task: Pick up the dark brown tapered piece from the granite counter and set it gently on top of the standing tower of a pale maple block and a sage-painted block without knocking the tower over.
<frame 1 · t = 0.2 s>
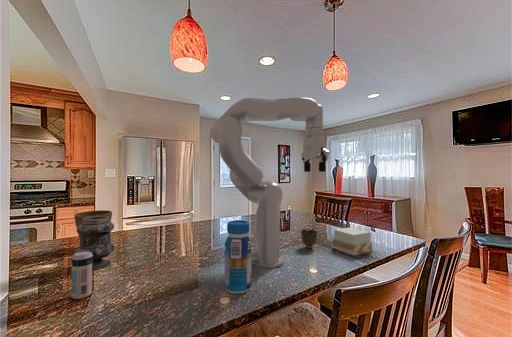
hand: (314, 171, 109), 36 cm above the kitchen island, tool pointing down, fingers open, 9 cm apart
beverage bottle: (237, 288, 74), on the kitchen island
white pill bottle: (81, 296, 69), on the kitchen island
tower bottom: (351, 250, 113), on the kitchen island
tower top: (352, 240, 113), point 4 cm above the kitchen island
dark grey carved vase: (95, 266, 92), on the kitchen island
plant pot: (93, 247, 114), on the kitchen island
dark brown tapered piece: (309, 248, 115), on the kitchen island
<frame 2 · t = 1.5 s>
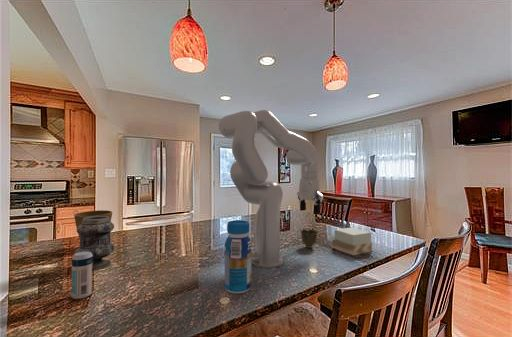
hand: (309, 211, 115), 17 cm above the kitchen island, tool pointing down, fingers open, 9 cm apart
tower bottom: (351, 250, 113), on the kitchen island, touching tower top
tower top: (352, 240, 112), point 4 cm above the kitchen island, touching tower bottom
everything else where it was.
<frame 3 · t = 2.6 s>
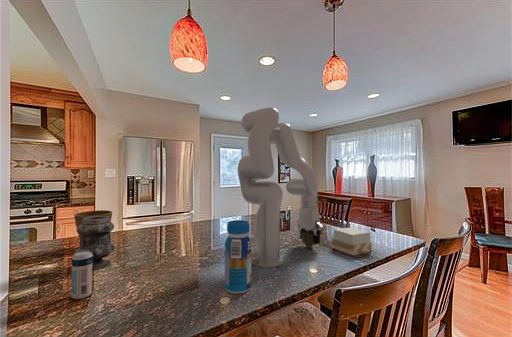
hand: (309, 241, 115), 3 cm above the kitchen island, tool pointing down, fingers open, 9 cm apart
nothing on the kitchen island moved.
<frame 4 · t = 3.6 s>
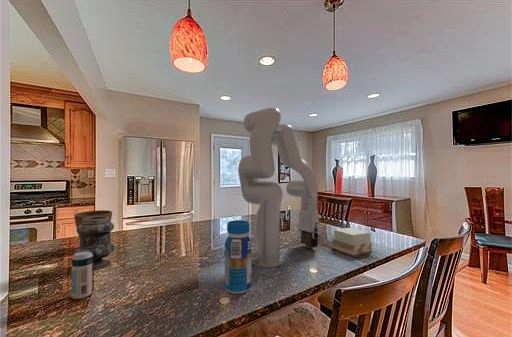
hand: (309, 244, 115), 2 cm above the kitchen island, tool pointing down, fingers closed on dark brown tapered piece, 6 cm apart
dark brown tapered piece: (309, 248, 115), on the kitchen island, touching gripper
everything else where it was.
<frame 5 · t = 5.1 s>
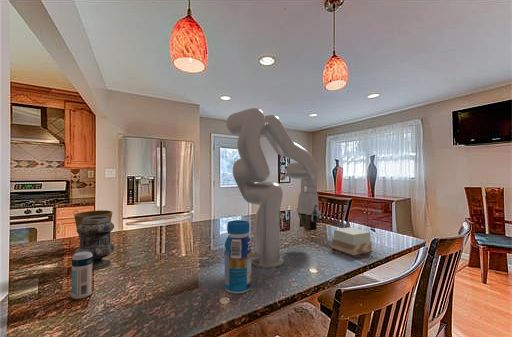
hand: (307, 227, 114), 9 cm above the kitchen island, tool pointing down, fingers closed on dark brown tapered piece, 6 cm apart
dark brown tapered piece: (307, 231, 114), point 8 cm above the kitchen island, touching gripper
everything else where it was.
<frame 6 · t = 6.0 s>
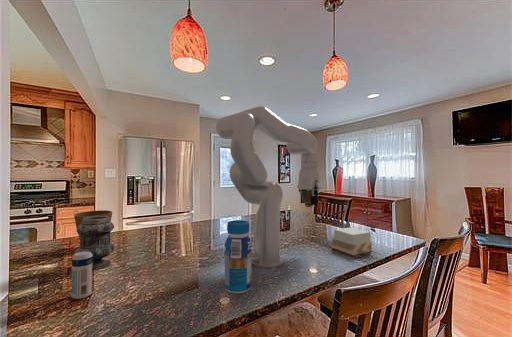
hand: (308, 203, 115), 21 cm above the kitchen island, tool pointing down, fingers closed on dark brown tapered piece, 6 cm apart
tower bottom: (351, 250, 113), on the kitchen island
tower top: (351, 240, 113), point 4 cm above the kitchen island
dark brown tapered piece: (308, 207, 115), point 19 cm above the kitchen island, touching gripper
everything else where it was.
when the fingers open (11 cm above the kitchen island, at t = 11.2 s): dark brown tapered piece drops 1 cm, resting on tower top.
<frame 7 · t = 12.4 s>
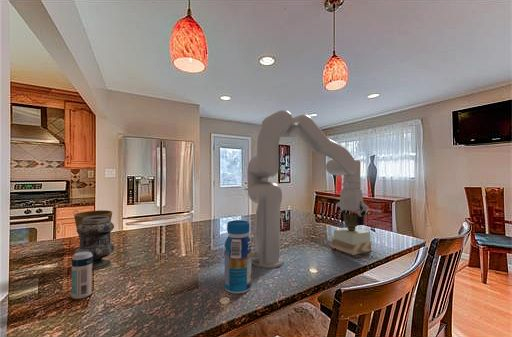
hand: (351, 223, 113), 12 cm above the kitchen island, tool pointing down, fingers open, 9 cm apart
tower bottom: (351, 249, 113), on the kitchen island, touching tower top
tower top: (351, 240, 113), point 4 cm above the kitchen island, touching dark brown tapered piece, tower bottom
dark brown tapered piece: (351, 230, 113), point 8 cm above the kitchen island, touching tower top
everything else where it was.
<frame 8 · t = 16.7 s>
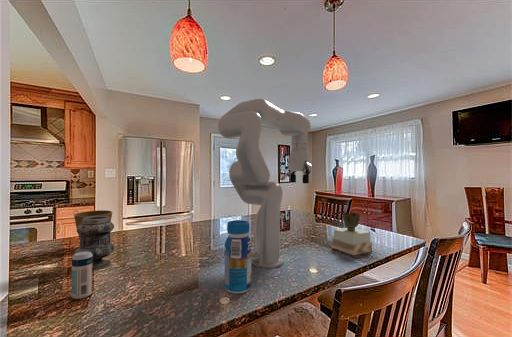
hand: (299, 182, 119), 30 cm above the kitchen island, tool pointing down, fingers open, 9 cm apart
nothing on the kitchen island moved.
at the end: dark brown tapered piece 0.3 cm off-centre on the tower top, point 4.3 cm above the tower top's base; tower top 0.1 cm off-centre on the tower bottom, point 4.5 cm above the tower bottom's base; dark brown tapered piece tilted 1° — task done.
